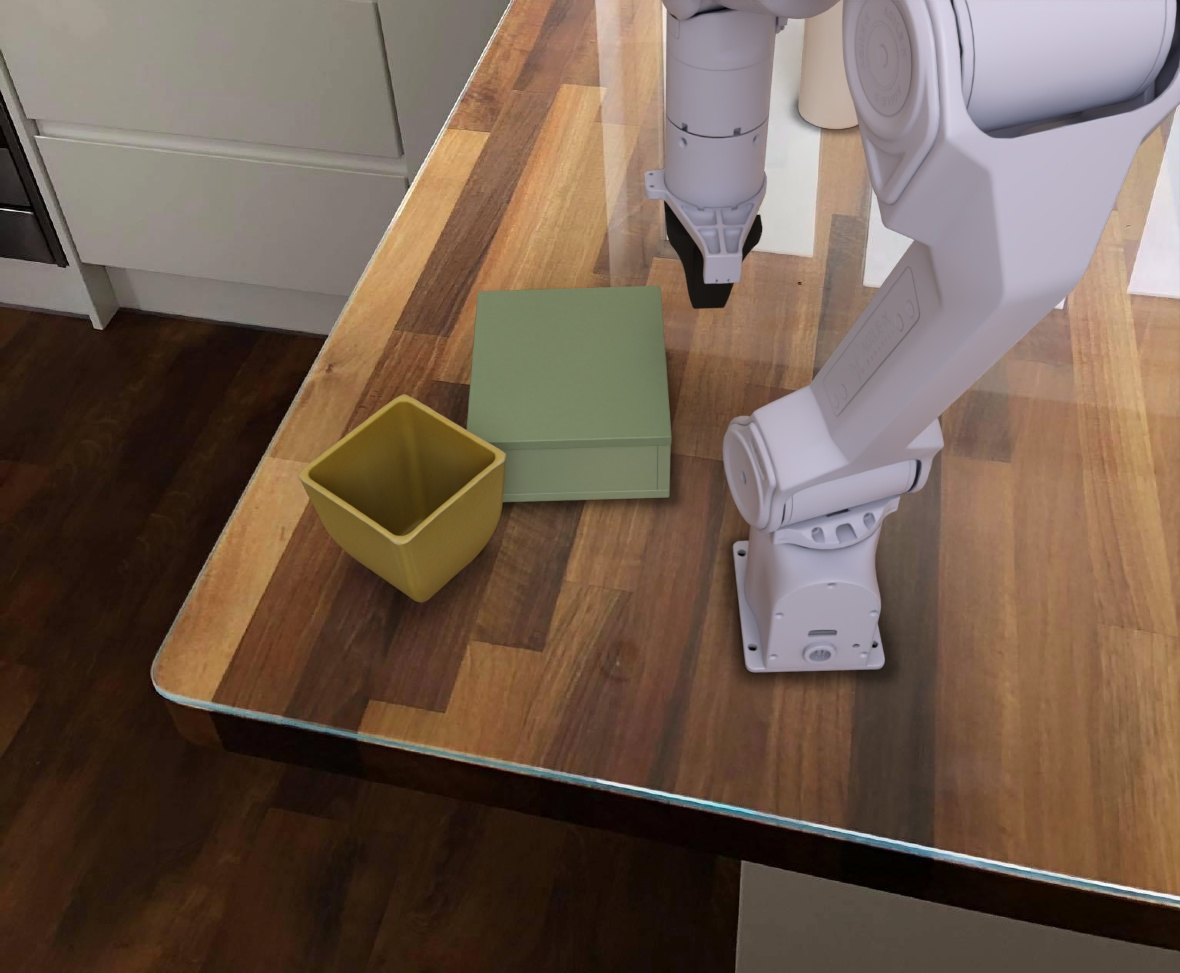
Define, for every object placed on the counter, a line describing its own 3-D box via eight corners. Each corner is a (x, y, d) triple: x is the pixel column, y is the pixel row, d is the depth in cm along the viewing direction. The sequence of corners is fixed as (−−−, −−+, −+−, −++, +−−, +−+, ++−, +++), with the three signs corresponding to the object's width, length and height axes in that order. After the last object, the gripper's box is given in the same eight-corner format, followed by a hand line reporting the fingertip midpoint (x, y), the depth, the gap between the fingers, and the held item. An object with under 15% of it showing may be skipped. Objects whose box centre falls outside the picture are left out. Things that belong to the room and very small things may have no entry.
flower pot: (423, 487, 81) (402, 389, 74) (521, 550, 77) (509, 452, 71) (324, 570, 77) (293, 474, 70) (424, 641, 73) (401, 546, 66)
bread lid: (671, 445, 75) (671, 436, 74) (466, 451, 75) (465, 442, 75) (660, 294, 84) (660, 284, 84) (478, 299, 85) (477, 290, 84)
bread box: (669, 497, 80) (670, 436, 75) (476, 503, 80) (467, 442, 76) (660, 356, 89) (660, 294, 84) (487, 362, 89) (478, 300, 85)
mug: (857, 138, 106) (876, 7, 98) (784, 121, 109) (796, -9, 100) (892, 82, 112) (913, -47, 103) (822, 67, 114) (837, -61, 106)
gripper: (639, 45, 72) (640, 233, 82) (649, 189, 63) (649, 382, 73) (759, 41, 72) (745, 230, 82) (787, 184, 62) (768, 378, 73)
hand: (708, 301), depth 78 cm, fingers closed
